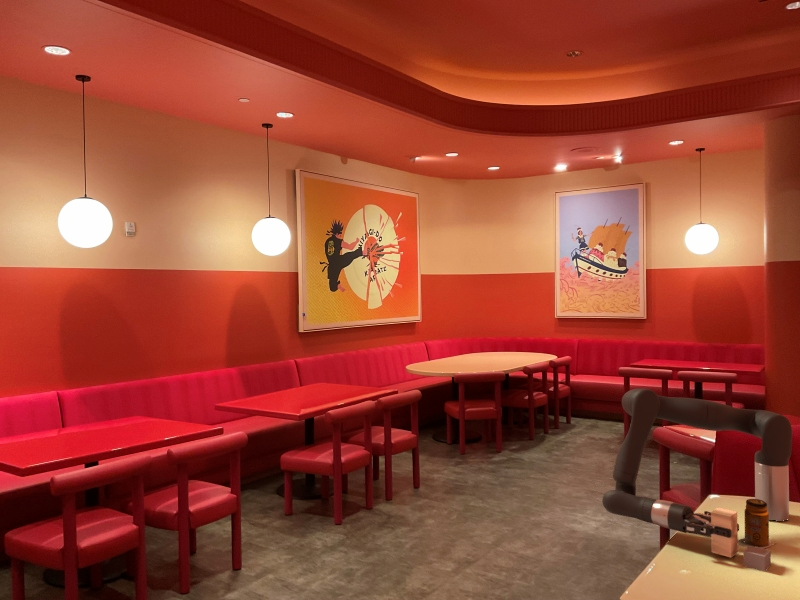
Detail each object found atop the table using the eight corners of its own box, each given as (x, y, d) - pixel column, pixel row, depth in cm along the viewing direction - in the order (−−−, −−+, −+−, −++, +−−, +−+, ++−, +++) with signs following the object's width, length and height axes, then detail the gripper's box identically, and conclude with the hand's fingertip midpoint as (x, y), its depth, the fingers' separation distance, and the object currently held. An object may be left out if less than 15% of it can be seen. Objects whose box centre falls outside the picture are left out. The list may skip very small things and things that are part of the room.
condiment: (775, 544, 180) (775, 502, 180) (760, 551, 175) (759, 508, 175) (749, 536, 186) (749, 495, 186) (733, 542, 181) (733, 501, 181)
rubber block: (749, 560, 170) (749, 545, 169) (770, 566, 166) (770, 550, 166) (743, 566, 166) (743, 551, 166) (764, 572, 162) (764, 556, 162)
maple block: (718, 546, 176) (717, 507, 176) (737, 551, 172) (737, 511, 172) (711, 552, 172) (710, 512, 172) (731, 557, 169) (730, 516, 169)
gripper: (660, 509, 178) (724, 524, 165) (681, 496, 187) (744, 510, 175) (661, 535, 178) (725, 552, 165) (682, 521, 188) (744, 536, 175)
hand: (734, 530), depth 170 cm, fingers closed on maple block, 5 cm apart
